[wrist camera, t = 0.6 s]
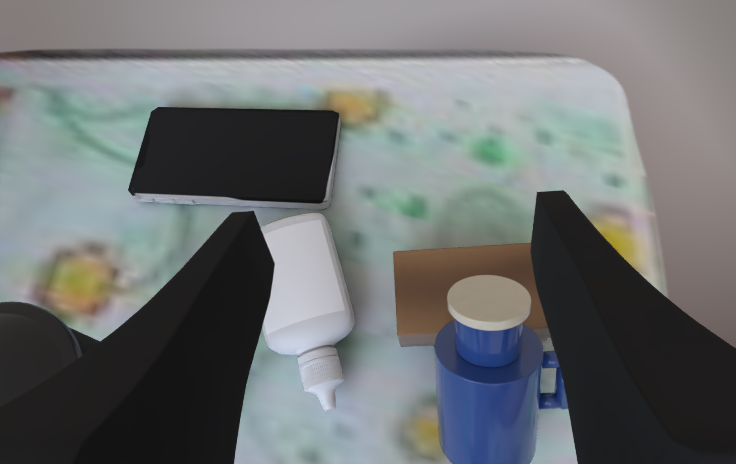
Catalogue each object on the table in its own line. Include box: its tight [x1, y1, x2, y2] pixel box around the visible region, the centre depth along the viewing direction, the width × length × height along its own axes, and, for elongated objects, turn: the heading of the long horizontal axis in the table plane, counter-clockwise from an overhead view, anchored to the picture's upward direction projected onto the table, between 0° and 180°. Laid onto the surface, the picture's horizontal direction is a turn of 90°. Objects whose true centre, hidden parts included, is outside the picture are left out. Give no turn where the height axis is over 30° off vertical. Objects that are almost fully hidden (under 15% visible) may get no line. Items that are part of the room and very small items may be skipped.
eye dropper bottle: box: [260, 213, 355, 412], centre depth 31 cm, size 4×6×12 cm
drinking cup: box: [0, 302, 100, 407], centre depth 22 cm, size 8×8×20 cm
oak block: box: [393, 243, 551, 347], centre depth 30 cm, size 5×9×4 cm, turn 92°
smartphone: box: [128, 107, 341, 210], centre depth 37 cm, size 8×1×15 cm
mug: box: [434, 275, 568, 464], centre depth 25 cm, size 9×7×10 cm
